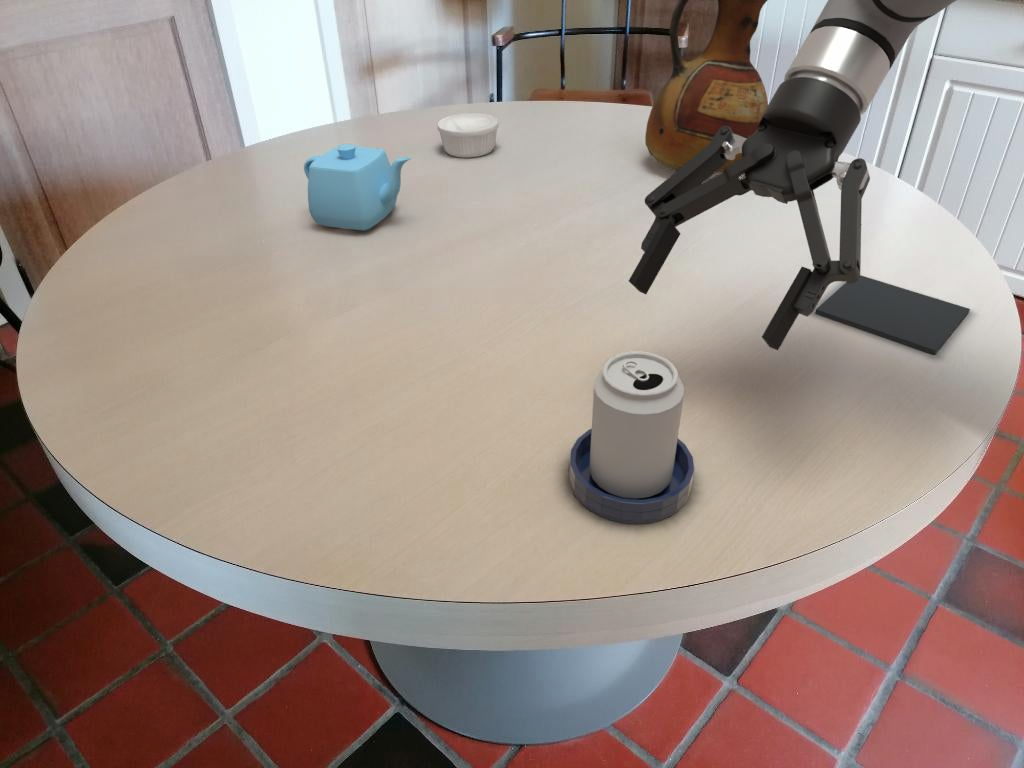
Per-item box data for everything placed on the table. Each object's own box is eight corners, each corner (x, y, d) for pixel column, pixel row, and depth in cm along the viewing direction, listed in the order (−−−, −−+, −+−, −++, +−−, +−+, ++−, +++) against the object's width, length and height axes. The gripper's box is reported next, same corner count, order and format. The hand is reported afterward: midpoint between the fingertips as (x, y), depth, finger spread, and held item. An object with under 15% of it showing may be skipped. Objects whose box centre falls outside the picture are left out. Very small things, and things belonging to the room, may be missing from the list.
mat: (968, 313, 91) (970, 308, 91) (934, 355, 84) (936, 350, 84) (854, 277, 99) (855, 273, 99) (814, 313, 92) (815, 309, 92)
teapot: (401, 243, 110) (392, 166, 104) (293, 229, 115) (278, 155, 108) (433, 210, 120) (427, 138, 113) (333, 198, 125) (321, 129, 118)
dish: (713, 475, 69) (717, 455, 68) (645, 544, 63) (648, 523, 61) (616, 426, 75) (617, 406, 74) (545, 483, 69) (545, 463, 68)
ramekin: (427, 152, 142) (424, 123, 139) (467, 136, 149) (465, 109, 146) (471, 164, 136) (469, 135, 133) (510, 147, 143) (510, 119, 140)
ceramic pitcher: (765, 189, 124) (803, -15, 106) (642, 184, 127) (658, -15, 109) (753, 148, 140) (784, -35, 122) (643, 145, 142) (658, -34, 125)
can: (628, 518, 65) (639, 409, 58) (572, 471, 70) (576, 365, 63) (688, 481, 68) (706, 374, 61) (631, 439, 73) (641, 335, 66)
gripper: (975, 155, 61) (843, 384, 61) (711, 97, 75) (606, 282, 76) (973, 102, 55) (827, 357, 55) (686, 50, 69) (573, 252, 70)
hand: (699, 314), depth 65 cm, fingers open, 13 cm apart
